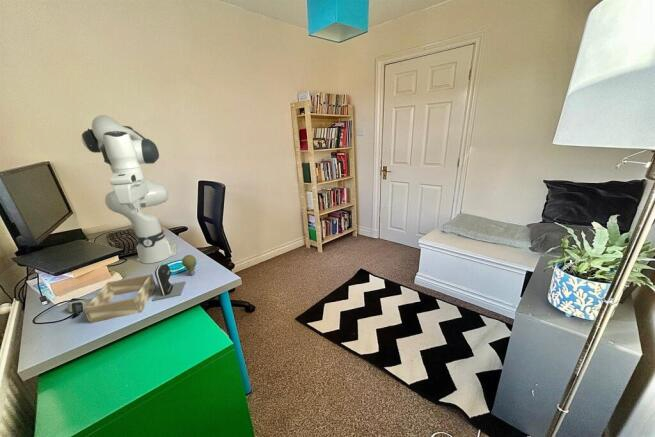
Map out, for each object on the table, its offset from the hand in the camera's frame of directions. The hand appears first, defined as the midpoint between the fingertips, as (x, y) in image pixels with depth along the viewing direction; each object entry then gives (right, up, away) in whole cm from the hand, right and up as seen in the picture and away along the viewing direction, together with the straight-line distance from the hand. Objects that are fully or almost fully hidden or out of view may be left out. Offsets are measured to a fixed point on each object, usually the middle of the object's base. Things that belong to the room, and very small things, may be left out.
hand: (139, 210), depth 102 cm
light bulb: (+12, -30, +17) cm, 36 cm away
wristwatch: (-19, -39, -3) cm, 43 cm away
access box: (-4, -37, -1) cm, 37 cm away
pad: (+9, -34, +5) cm, 36 cm away
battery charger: (+9, -34, +4) cm, 35 cm away
